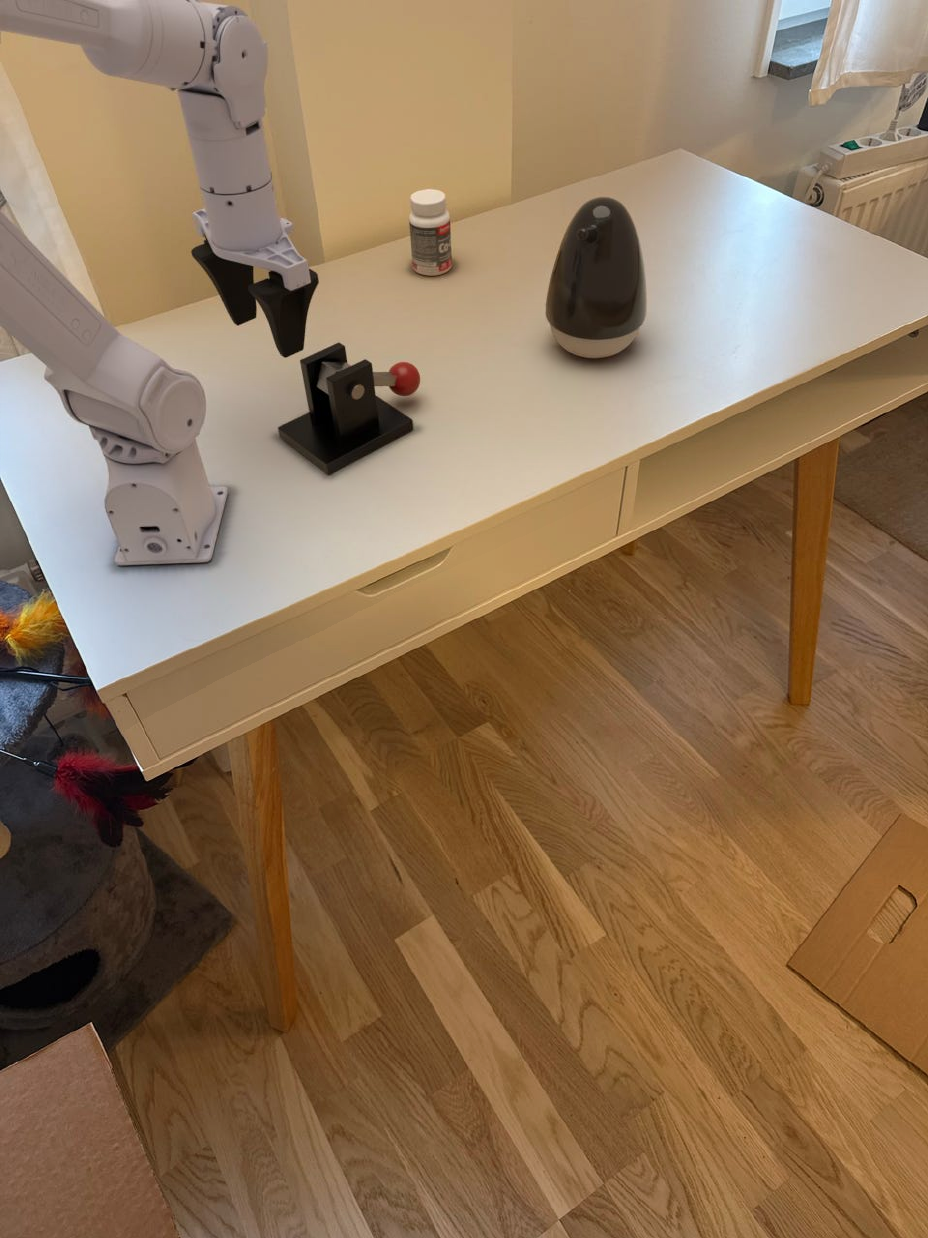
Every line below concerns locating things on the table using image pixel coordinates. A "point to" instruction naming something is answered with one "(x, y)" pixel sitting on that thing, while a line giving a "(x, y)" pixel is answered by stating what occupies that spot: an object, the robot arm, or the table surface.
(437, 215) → the pill bottle
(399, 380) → the lever
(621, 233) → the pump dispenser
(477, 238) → the table surface
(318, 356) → the bracket
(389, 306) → the table surface
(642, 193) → the table surface
